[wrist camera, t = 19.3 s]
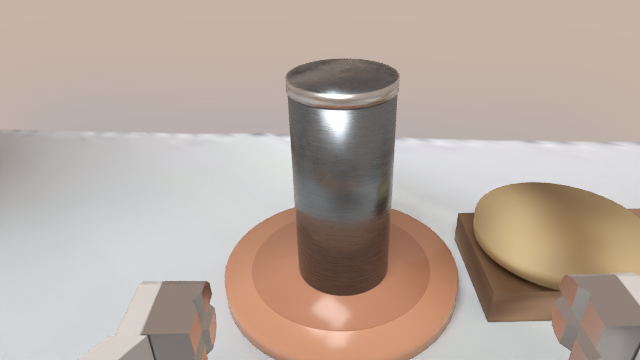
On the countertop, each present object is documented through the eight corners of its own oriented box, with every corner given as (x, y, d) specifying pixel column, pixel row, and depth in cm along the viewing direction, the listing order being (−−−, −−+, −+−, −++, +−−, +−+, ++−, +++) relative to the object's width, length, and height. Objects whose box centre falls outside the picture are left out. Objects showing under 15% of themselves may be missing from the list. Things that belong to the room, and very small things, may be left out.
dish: (206, 377, 22) (202, 359, 22) (243, 217, 34) (241, 202, 33) (486, 371, 22) (490, 352, 22) (429, 213, 34) (431, 197, 33)
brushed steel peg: (296, 297, 25) (282, 97, 19) (299, 238, 29) (288, 60, 24) (394, 295, 25) (408, 93, 19) (382, 235, 29) (391, 57, 24)
